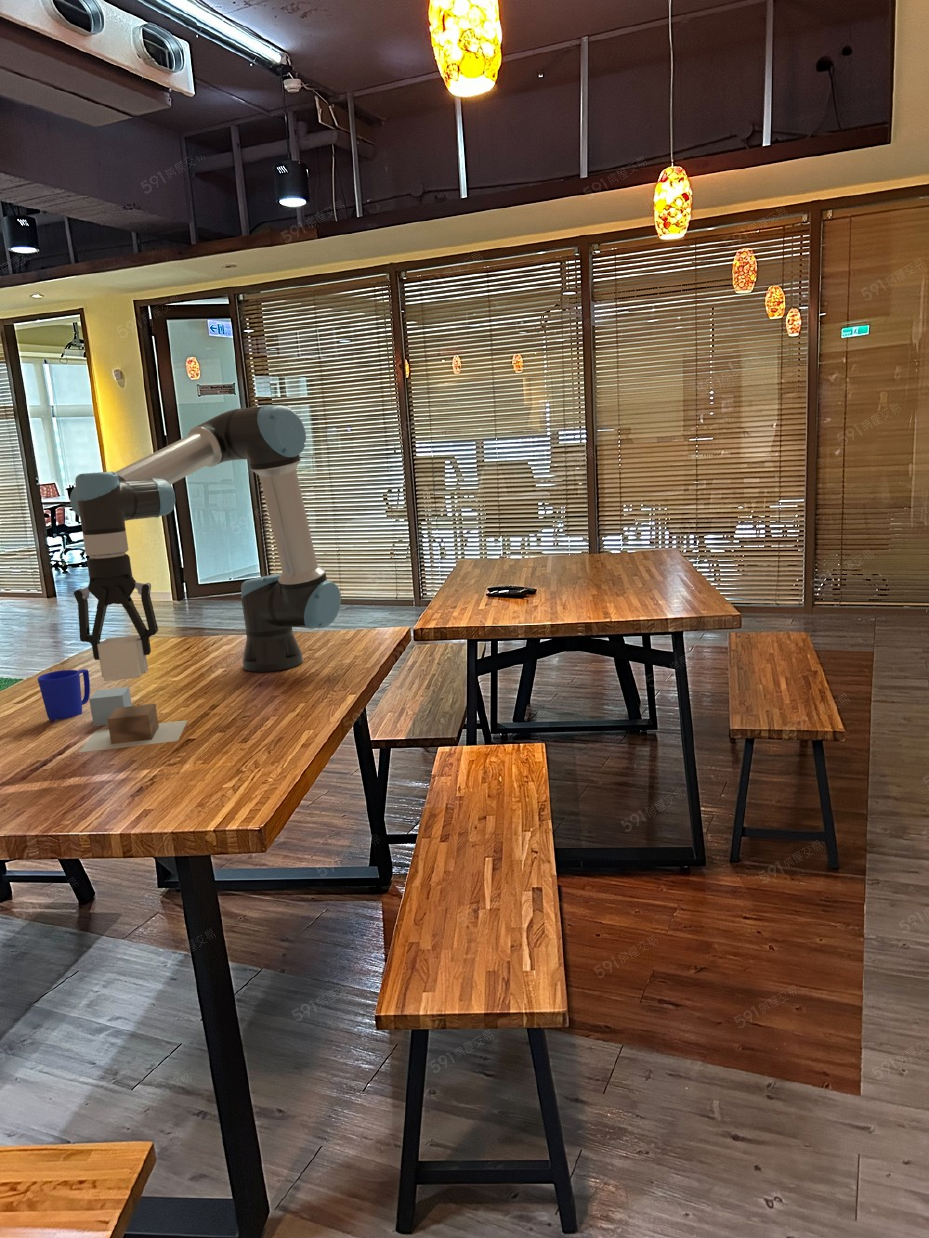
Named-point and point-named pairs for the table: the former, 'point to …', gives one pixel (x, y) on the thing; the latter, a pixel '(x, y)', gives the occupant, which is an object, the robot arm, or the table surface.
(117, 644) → the brick
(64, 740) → the table surface
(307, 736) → the table surface
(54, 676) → the mug
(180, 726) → the plate
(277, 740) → the table surface
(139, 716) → the base brick
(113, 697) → the brick
